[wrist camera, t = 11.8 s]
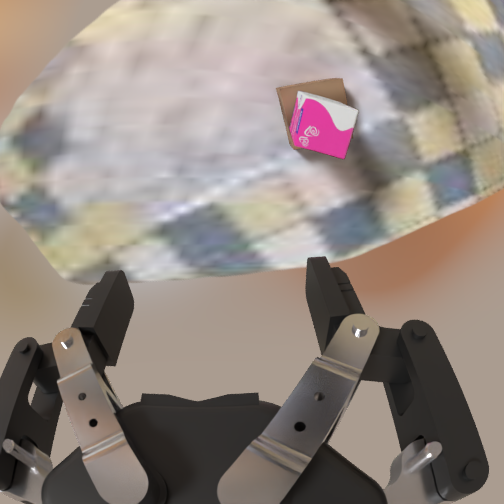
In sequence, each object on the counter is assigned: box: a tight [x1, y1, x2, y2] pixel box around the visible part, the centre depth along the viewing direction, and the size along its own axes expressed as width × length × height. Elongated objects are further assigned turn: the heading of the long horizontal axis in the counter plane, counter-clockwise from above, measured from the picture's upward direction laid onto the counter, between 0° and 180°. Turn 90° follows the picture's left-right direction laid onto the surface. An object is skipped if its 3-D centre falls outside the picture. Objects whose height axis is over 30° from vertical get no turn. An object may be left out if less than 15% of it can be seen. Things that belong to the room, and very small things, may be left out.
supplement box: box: [289, 91, 359, 159], centre depth 33 cm, size 6×6×12 cm
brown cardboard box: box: [276, 78, 353, 150], centre depth 39 cm, size 9×9×4 cm
